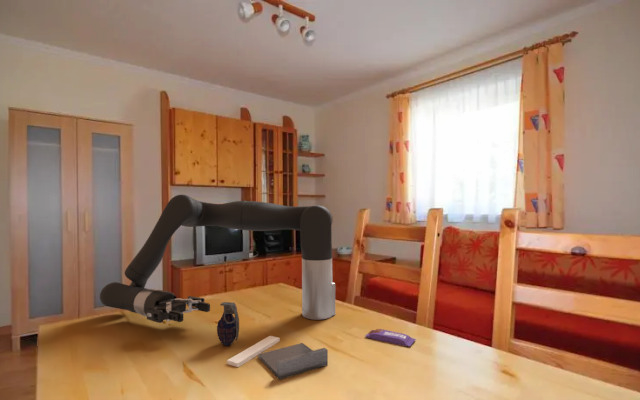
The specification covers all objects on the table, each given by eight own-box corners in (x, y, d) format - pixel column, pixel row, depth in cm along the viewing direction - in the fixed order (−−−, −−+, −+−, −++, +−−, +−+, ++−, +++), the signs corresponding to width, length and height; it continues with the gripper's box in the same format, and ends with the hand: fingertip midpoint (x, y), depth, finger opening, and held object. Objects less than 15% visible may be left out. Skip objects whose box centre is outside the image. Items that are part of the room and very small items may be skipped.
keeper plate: (302, 346, 79) (302, 332, 79) (327, 365, 70) (327, 349, 70) (258, 357, 74) (258, 343, 74) (279, 379, 64) (279, 363, 64)
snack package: (416, 335, 82) (410, 342, 78) (416, 343, 82) (410, 350, 78) (372, 326, 88) (364, 332, 84) (372, 333, 88) (364, 340, 84)
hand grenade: (244, 342, 82) (244, 301, 82) (233, 350, 77) (233, 307, 77) (224, 339, 84) (224, 299, 84) (212, 347, 79) (212, 305, 79)
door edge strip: (269, 338, 84) (269, 335, 84) (279, 341, 82) (279, 337, 82) (227, 364, 71) (227, 360, 71) (237, 367, 69) (237, 363, 69)
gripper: (130, 296, 87) (172, 305, 80) (177, 284, 100) (217, 291, 92) (130, 325, 87) (172, 337, 79) (177, 309, 100) (217, 318, 92)
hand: (196, 312), depth 86 cm, fingers open, 8 cm apart
